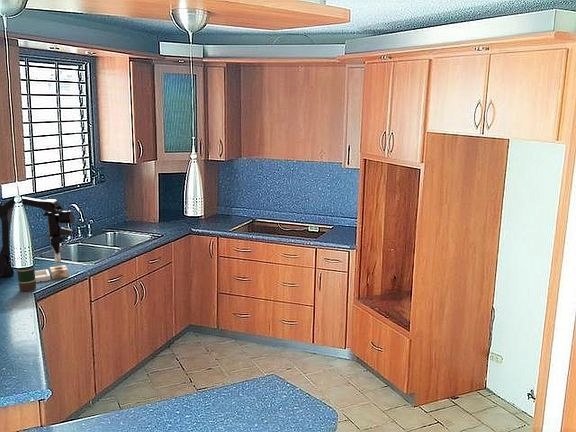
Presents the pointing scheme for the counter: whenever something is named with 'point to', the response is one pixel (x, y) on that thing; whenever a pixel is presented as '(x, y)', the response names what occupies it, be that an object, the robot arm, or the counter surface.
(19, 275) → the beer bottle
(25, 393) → the counter surface
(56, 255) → the steel pin
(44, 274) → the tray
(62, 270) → the hitch block
